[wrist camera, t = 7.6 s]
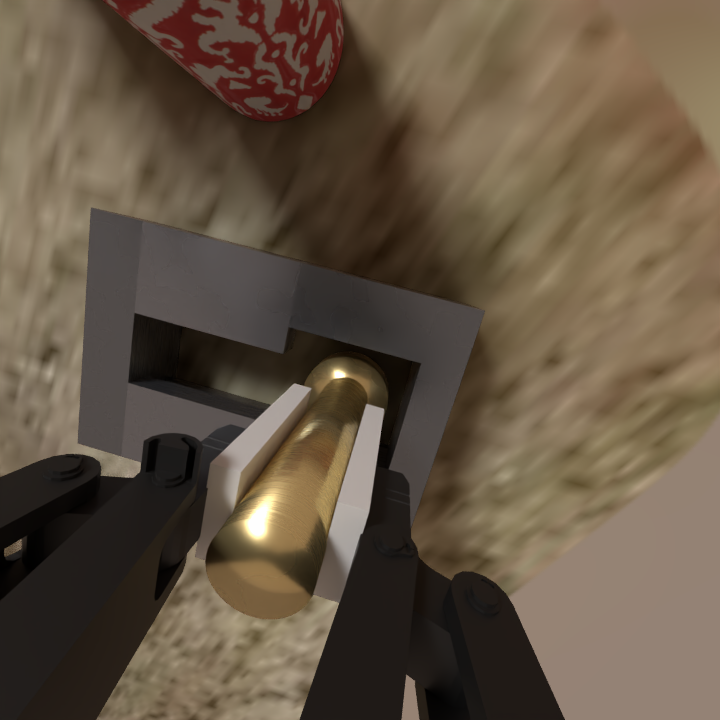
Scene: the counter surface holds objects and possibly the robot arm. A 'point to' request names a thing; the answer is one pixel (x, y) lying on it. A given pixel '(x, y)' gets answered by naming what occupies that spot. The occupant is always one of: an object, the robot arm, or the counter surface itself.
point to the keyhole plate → (248, 336)
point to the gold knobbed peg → (296, 496)
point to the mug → (248, 48)
